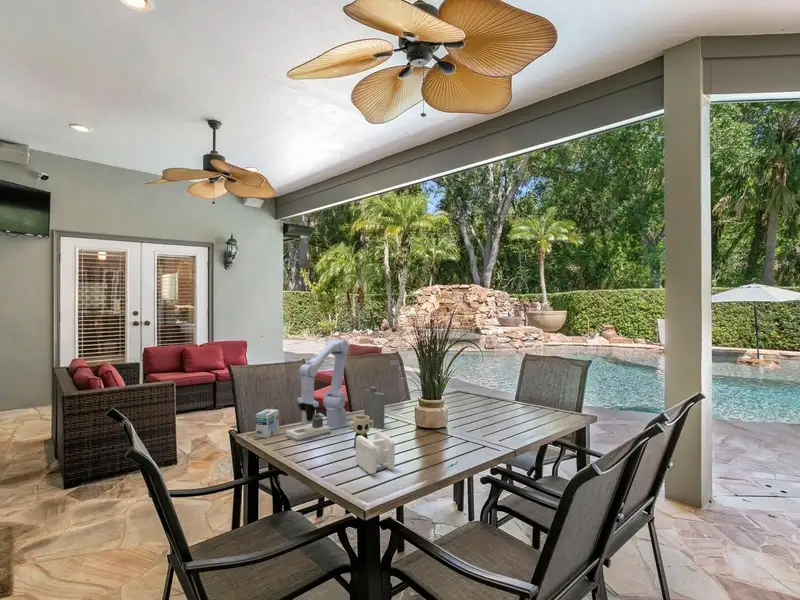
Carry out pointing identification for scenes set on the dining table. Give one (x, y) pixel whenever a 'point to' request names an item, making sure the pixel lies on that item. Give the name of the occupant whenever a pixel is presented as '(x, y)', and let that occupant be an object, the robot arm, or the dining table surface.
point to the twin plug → (317, 422)
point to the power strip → (307, 432)
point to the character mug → (360, 426)
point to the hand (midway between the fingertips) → (307, 419)
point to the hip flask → (374, 407)
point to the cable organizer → (375, 452)
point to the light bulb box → (267, 423)
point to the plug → (305, 418)
